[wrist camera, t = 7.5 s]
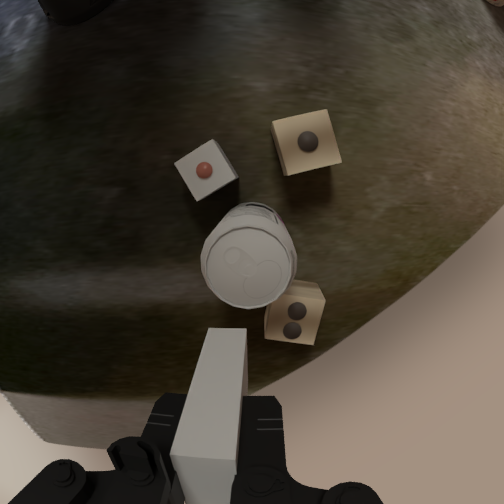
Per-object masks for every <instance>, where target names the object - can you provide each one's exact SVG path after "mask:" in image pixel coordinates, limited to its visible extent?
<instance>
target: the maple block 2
mask: <svg viewBox="0 0 504 504" xmlns="http://www.w3.org/2000/svg"><path fill="white" fill-rule="evenodd" d="M325 301H326V300H325V298H324V296H323V294H322V292H321V290H320V288H319V286H318V284H317V283H312V282H306V281H300V280H293V281H292V284H291V286H290V288H289V289H288V290H287V291H286V292H285V293H284V294H283V295H282V296H281V297H280V298H279V299H277V300H276V301H274V302H272V303H270V304H268V305H267V306H266V311H265V316H264V328H265V339H271V340H278V341H286V342H293V343H301V344H309V345H313V344H314V341H315V337H316V334H317V330H318V327H319V323H320V319H321V316H322V312H323V308H324V305H325Z"/></svg>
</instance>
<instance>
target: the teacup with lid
mask: <svg viewBox="0 0 504 504" xmlns="http://www.w3.org/2000/svg"><path fill="white" fill-rule="evenodd" d="M486 1H488V2H489V3H491V4H492V5H495V6H499V7H500V6H503V5H504V0H486Z"/></svg>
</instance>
